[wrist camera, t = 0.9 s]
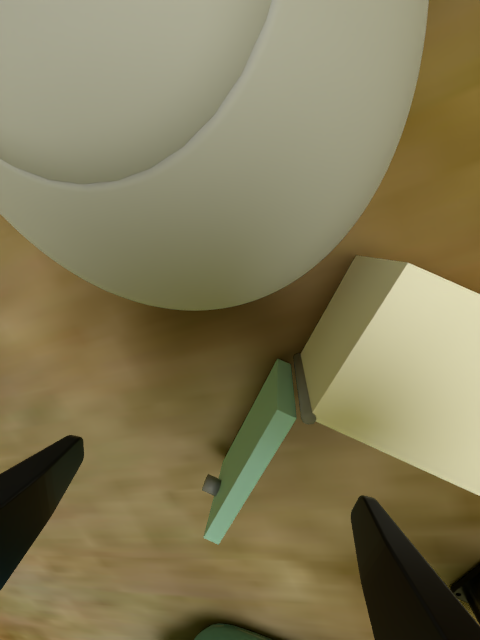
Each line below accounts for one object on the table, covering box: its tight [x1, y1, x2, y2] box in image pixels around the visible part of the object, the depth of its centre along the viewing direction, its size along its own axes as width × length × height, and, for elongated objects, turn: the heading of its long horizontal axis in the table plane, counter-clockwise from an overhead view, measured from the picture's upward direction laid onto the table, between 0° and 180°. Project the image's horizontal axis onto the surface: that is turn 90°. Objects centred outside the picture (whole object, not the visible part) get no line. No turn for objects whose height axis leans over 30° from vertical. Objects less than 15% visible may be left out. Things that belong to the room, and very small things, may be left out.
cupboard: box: [293, 255, 480, 496], centre depth 16 cm, size 9×14×8 cm, turn 67°
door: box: [202, 359, 296, 545], centre depth 19 cm, size 12×2×7 cm, turn 157°
